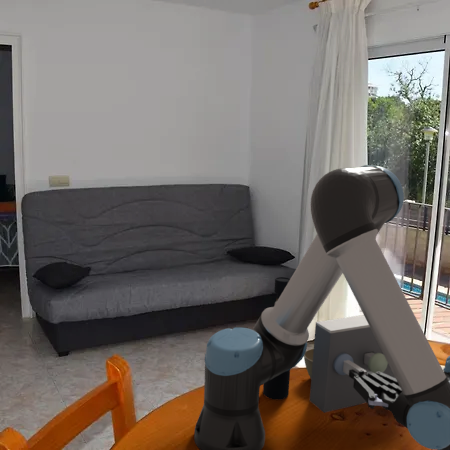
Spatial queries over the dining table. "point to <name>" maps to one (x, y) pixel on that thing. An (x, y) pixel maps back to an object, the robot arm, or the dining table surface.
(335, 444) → the dining table surface
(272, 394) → the wine bottle
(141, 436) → the dining table surface
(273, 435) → the dining table surface
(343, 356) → the slate button
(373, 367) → the sage button
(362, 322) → the control panel
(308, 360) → the flower pot
